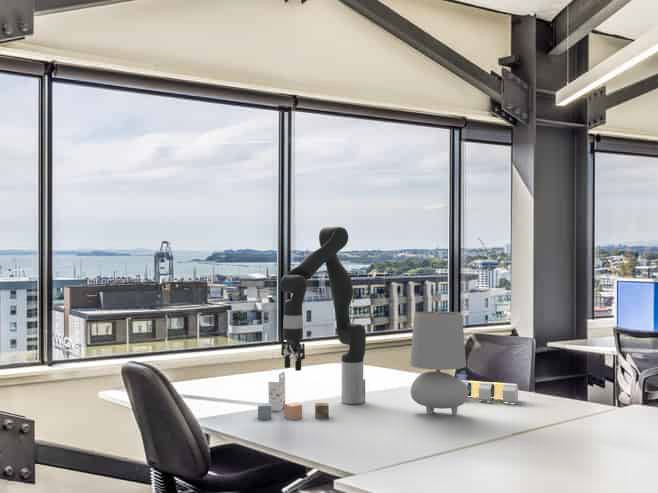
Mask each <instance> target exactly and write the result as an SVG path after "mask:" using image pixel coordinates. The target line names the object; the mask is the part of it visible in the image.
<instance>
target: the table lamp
mask: <svg viewBox="0 0 658 493" xmlns="http://www.w3.org/2000/svg"><path fill="white" fill-rule="evenodd" d="M412 325H413V326H412V337H411V338H412V339H411V352H410V364H409V365H410V367H413V368H417V369H423V370H435V371H427V372H424V373H421V374H419V375H417V377H416V378H415V379H414V380H413V381H412V384H411V386H410V396H411V398H412V400H413V401H414V402H416V403H417V404H418V405H420V406H423V407H425V408H426V409H425V410H426V415H432V413H431V412H433V413H434V412H435V409H450V410H451V414H452V416H453V415H456V416H457V415H458V408H459V407H461V406H462V405H464V404H465V403H466V402H468V399H469V397H468V396H469V390H468V387H467V386H466V384H464V383H463V382H462V381H461V380H459V379H457V376H456V377H455V376H454V375H451V374H449V373H447V372H442V370H444V371H445V370H447V371H448V370H460V369H465V368H466V367H467V360H466V359H467V358H466V347H465V346H466V345H465V333H464V332H465V331H464V319H463V313H461V312H456V311H417V312H414V313H413V323H412Z"/></svg>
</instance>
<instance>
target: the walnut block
mask: <svg viewBox="0 0 658 493" xmlns="http://www.w3.org/2000/svg"><path fill="white" fill-rule="evenodd" d="M329 410H330V408H329V403H328V402H315V403H314V417H315V420H316V419H321V418H326V419H329V418H330V416H329V412H330V411H329ZM321 420H322V419H321Z"/></svg>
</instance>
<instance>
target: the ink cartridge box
mask: <svg viewBox="0 0 658 493" xmlns="http://www.w3.org/2000/svg"><path fill="white" fill-rule="evenodd" d="M285 374H286V373H285V371H281V372H280V373H279V374H278V377H274V378H272V379H270V380H269V381H268V382H267V383H268V403H271V412H272V411H274V412H275V411H276V412H280V411H282V410H284V404H286V376H285Z"/></svg>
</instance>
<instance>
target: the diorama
mask: <svg viewBox="0 0 658 493" xmlns="http://www.w3.org/2000/svg"><path fill="white" fill-rule="evenodd" d="M467 377H468V374H466V370H462V373H461V372H459V374H457V373H456V378H457V379H459V380H461V381H462V382H463V383H464V384H466V386H467V387H468V390H469V396H479V398H478V401H479V400H481V401H491V402H492V399H491V397H495V398H503V400H502V403H503V402H508V403H515V402H516V401H517V400H518V399H519V386H518V384H517V383H509V382H495V381H494V382H492V381H491V382H490V381H478V380H477V381H476V380H467ZM518 401H519V400H518ZM518 401H517V402H518Z"/></svg>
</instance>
